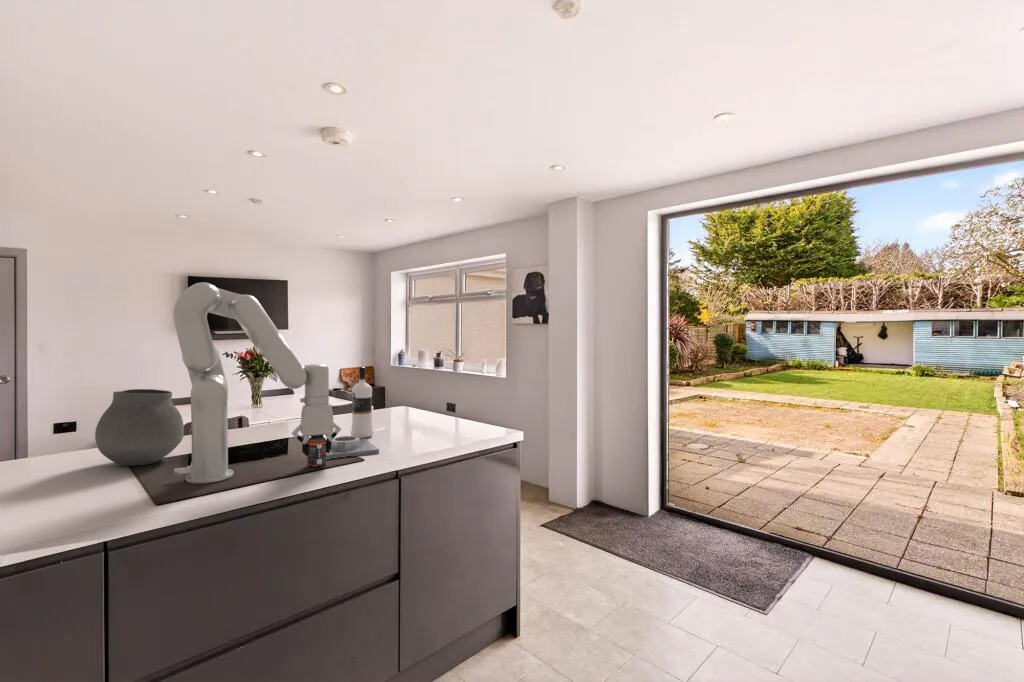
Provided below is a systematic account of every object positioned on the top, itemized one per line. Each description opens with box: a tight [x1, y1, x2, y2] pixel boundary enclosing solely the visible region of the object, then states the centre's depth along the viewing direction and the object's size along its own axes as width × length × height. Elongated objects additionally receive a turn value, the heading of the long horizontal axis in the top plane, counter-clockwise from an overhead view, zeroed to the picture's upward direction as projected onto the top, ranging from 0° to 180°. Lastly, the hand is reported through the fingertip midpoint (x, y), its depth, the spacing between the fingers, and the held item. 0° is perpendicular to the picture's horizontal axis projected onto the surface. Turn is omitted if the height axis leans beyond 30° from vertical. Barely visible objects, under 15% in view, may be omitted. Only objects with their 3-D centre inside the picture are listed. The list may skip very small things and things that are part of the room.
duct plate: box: [326, 435, 380, 458], centre depth 190 cm, size 20×20×4 cm
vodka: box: [350, 366, 374, 439], centre depth 215 cm, size 9×9×30 cm
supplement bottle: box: [306, 435, 327, 467], centre depth 170 cm, size 6×6×11 cm
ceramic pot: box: [94, 388, 185, 467], centre depth 170 cm, size 24×24×25 cm
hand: (316, 453), depth 170 cm, fingers open, 6 cm apart
